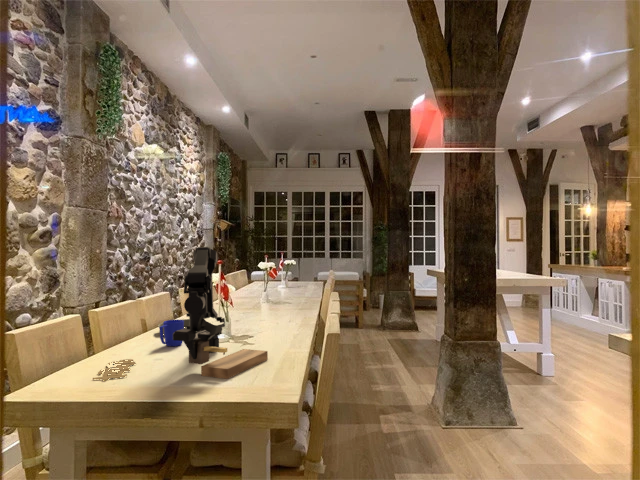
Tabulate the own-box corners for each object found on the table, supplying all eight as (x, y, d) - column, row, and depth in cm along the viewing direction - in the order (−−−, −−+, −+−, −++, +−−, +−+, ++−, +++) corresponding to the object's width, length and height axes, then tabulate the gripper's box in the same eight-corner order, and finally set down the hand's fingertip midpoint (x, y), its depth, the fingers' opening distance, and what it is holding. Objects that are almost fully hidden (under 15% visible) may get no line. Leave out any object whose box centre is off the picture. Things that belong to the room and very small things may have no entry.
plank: (201, 375, 146) (201, 366, 146) (243, 357, 170) (243, 348, 170) (227, 378, 143) (227, 368, 143) (267, 359, 166) (267, 350, 166)
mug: (152, 348, 186) (152, 324, 186) (172, 342, 197) (172, 319, 197) (169, 350, 183) (168, 325, 183) (188, 343, 194) (188, 320, 194)
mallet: (189, 362, 150) (188, 342, 150) (196, 359, 153) (196, 340, 153) (222, 366, 145) (222, 345, 145) (229, 363, 148) (229, 343, 148)
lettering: (109, 362, 166) (109, 360, 166) (139, 360, 168) (139, 358, 168) (90, 383, 142) (90, 380, 142) (125, 380, 144) (125, 377, 144)
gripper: (200, 315, 139) (201, 366, 139) (235, 306, 156) (235, 352, 156) (171, 313, 143) (172, 363, 143) (207, 305, 160) (208, 350, 160)
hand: (199, 357), depth 151 cm, fingers closed on mallet, 4 cm apart
